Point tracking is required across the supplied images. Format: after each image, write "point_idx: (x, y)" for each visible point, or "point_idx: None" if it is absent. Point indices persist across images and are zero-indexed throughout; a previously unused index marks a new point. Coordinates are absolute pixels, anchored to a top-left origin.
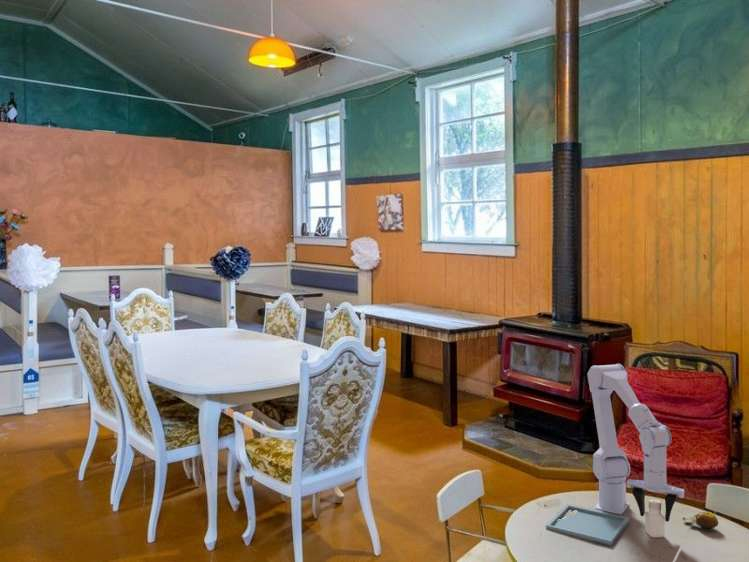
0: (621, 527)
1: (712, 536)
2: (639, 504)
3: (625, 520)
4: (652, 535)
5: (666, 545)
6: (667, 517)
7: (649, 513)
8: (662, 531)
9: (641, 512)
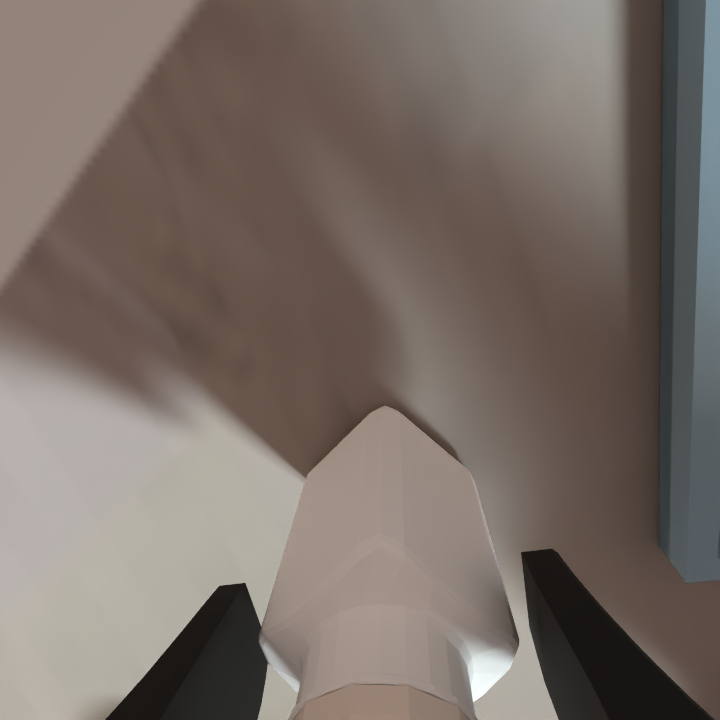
0: (693, 333)
1: (98, 680)
2: (651, 703)
3: (698, 517)
4: (374, 412)
5: (222, 346)
6: (192, 627)
7: (432, 600)
8: (305, 495)
9: (555, 583)
